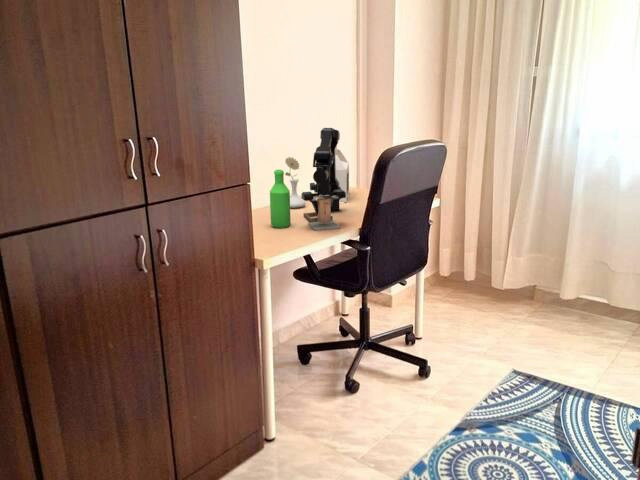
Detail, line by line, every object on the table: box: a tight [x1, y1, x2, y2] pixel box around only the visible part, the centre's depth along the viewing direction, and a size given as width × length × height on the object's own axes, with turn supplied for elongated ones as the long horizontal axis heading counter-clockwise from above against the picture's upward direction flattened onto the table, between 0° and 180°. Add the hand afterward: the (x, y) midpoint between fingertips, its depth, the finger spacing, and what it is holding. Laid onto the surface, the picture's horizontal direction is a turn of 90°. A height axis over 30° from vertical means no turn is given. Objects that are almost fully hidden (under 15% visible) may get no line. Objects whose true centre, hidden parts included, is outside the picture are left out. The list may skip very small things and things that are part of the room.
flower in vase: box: [284, 156, 307, 209], centre depth 284 cm, size 13×11×25 cm
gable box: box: [335, 145, 350, 203], centre depth 300 cm, size 22×13×28 cm, turn 174°
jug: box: [316, 197, 332, 223], centre depth 247 cm, size 10×6×10 cm, turn 16°
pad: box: [307, 220, 342, 232], centre depth 250 cm, size 12×12×1 cm
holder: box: [303, 211, 334, 223], centre depth 263 cm, size 11×11×2 cm
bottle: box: [269, 169, 292, 229], centre depth 248 cm, size 9×9×25 cm
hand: (323, 214), depth 249 cm, fingers closed on jug, 6 cm apart
